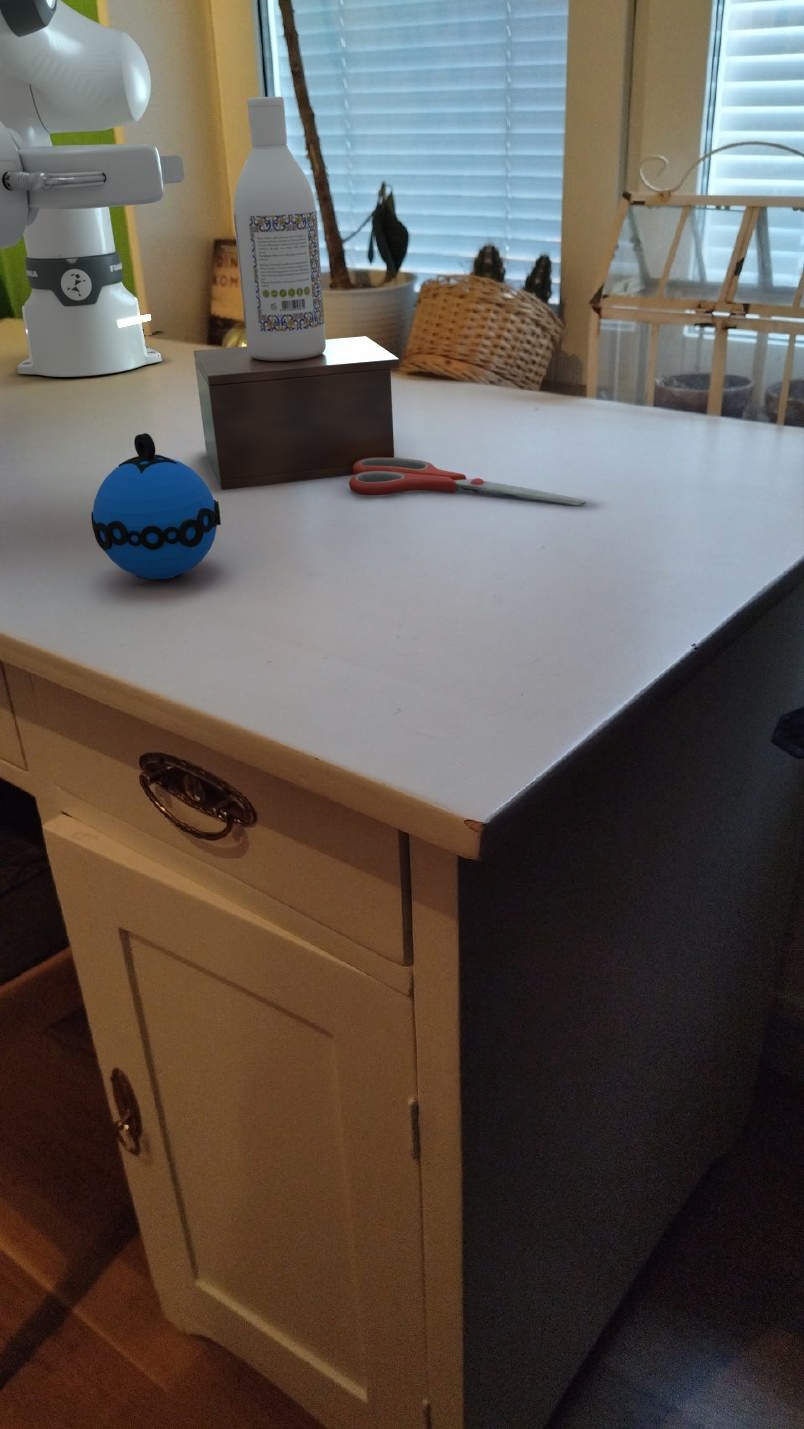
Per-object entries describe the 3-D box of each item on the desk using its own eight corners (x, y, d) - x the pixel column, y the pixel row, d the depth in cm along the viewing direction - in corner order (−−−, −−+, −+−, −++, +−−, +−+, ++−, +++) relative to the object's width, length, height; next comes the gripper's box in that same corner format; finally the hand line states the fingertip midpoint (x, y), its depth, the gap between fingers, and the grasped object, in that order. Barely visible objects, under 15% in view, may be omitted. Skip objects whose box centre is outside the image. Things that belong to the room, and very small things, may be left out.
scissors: (584, 507, 87) (585, 489, 86) (334, 496, 92) (332, 479, 92) (596, 479, 93) (597, 462, 93) (361, 471, 99) (360, 454, 98)
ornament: (79, 579, 77) (52, 438, 73) (181, 547, 83) (161, 412, 78) (146, 610, 72) (121, 459, 67) (251, 573, 77) (234, 430, 72)
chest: (363, 437, 109) (358, 345, 105) (395, 470, 99) (390, 369, 94) (206, 454, 106) (194, 360, 102) (221, 490, 95) (208, 386, 91)
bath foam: (342, 353, 97) (325, 94, 88) (276, 365, 94) (252, 96, 84) (297, 345, 102) (277, 98, 93) (233, 356, 98) (206, 100, 89)
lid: (366, 345, 105) (365, 336, 105) (399, 368, 95) (399, 358, 94) (194, 359, 102) (193, 350, 102) (208, 385, 91) (207, 375, 91)
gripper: (40, 125, 68) (219, 117, 76) (-103, 132, 81) (64, 125, 89) (59, 236, 71) (230, 217, 79) (-81, 226, 84) (78, 210, 92)
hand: (141, 168), depth 84 cm, fingers open, 8 cm apart
